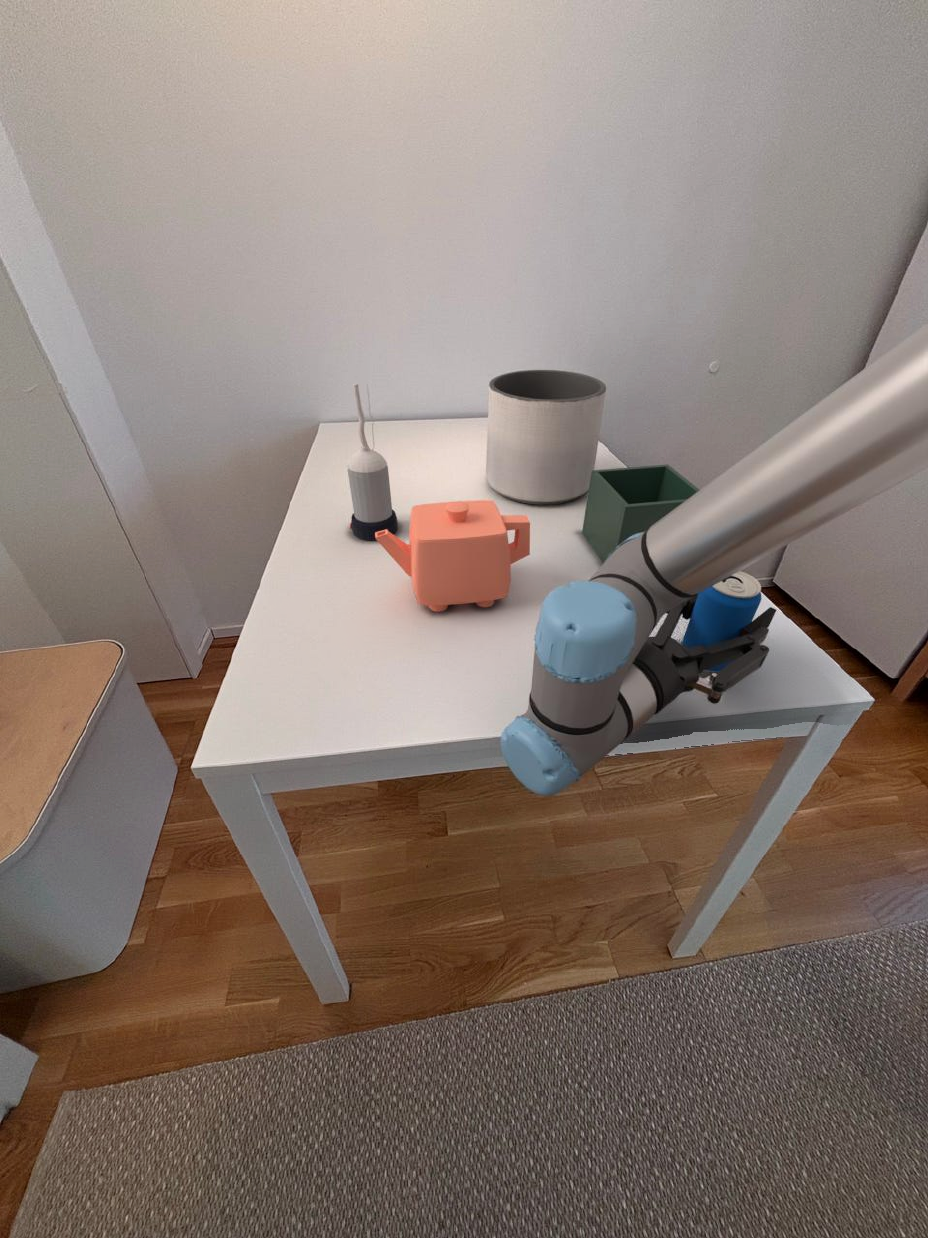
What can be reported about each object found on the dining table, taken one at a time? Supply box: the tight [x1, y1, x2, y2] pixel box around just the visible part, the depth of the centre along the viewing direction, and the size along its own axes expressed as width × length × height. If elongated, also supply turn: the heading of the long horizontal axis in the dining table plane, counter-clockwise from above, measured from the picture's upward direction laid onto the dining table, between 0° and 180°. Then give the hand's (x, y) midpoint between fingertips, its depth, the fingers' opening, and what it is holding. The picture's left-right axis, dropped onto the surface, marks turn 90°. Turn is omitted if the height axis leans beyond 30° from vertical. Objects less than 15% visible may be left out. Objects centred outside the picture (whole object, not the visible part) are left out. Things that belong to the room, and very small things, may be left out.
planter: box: [485, 369, 607, 506], centre depth 103 cm, size 22×22×20 cm
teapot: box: [375, 499, 531, 612], centre depth 75 cm, size 22×13×14 cm, turn 98°
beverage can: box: [680, 570, 762, 673], centre depth 63 cm, size 6×6×12 cm
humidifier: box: [347, 383, 399, 542], centre depth 86 cm, size 8×8×25 cm
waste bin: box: [581, 463, 701, 564], centre depth 85 cm, size 14×14×12 cm
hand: (741, 603), depth 65 cm, fingers closed on beverage can, 6 cm apart
